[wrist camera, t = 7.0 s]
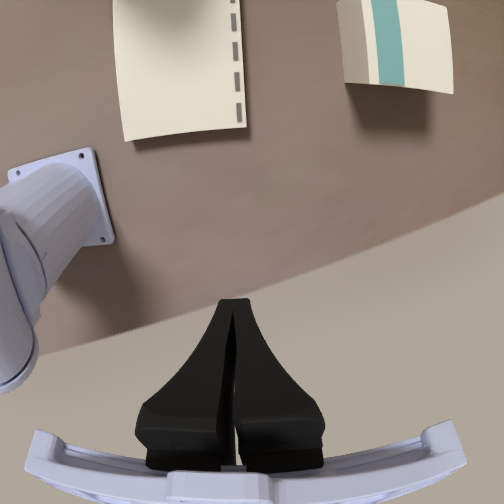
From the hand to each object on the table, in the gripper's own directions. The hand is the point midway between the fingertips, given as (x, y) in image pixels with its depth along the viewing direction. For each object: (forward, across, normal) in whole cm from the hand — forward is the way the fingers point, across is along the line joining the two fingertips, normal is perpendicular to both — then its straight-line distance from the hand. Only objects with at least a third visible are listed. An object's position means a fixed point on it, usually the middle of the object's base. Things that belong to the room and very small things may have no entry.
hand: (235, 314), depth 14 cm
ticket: (+10, +3, -13) cm, 17 cm away
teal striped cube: (+10, -10, -13) cm, 20 cm away
